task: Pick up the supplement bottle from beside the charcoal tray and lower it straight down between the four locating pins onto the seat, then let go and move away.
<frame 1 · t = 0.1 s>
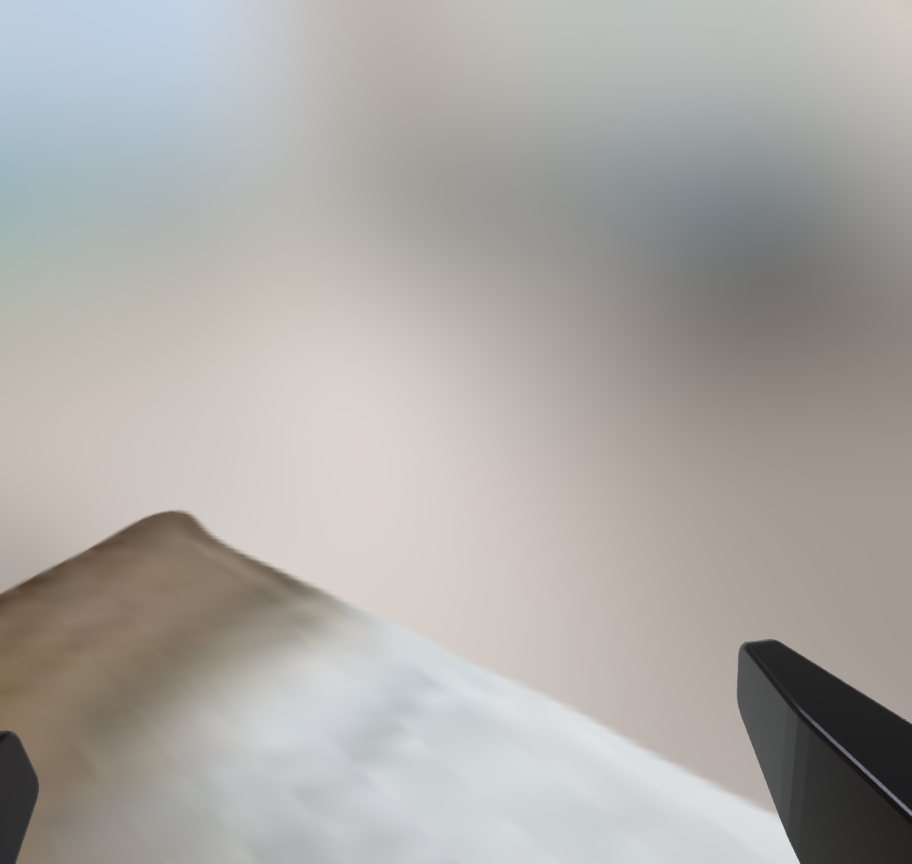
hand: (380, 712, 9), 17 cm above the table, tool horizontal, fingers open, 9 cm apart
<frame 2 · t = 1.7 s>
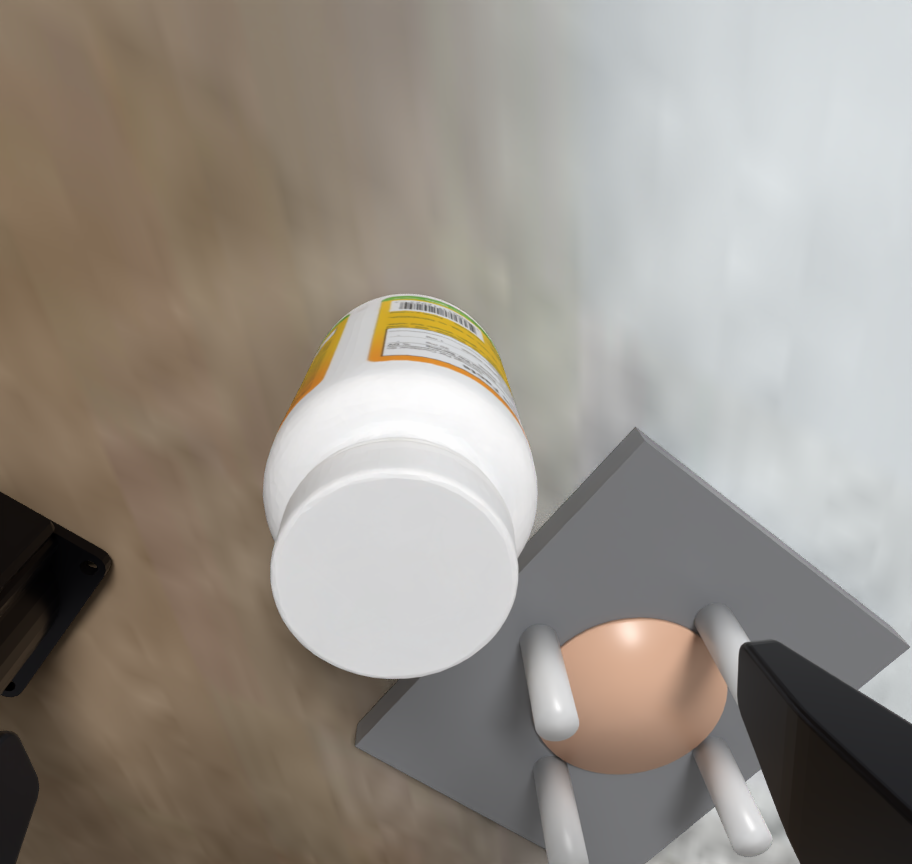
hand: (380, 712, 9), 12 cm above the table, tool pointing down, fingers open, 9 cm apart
pin tray: (620, 676, 25), on the table
supplement bottle: (409, 382, 21), on the table
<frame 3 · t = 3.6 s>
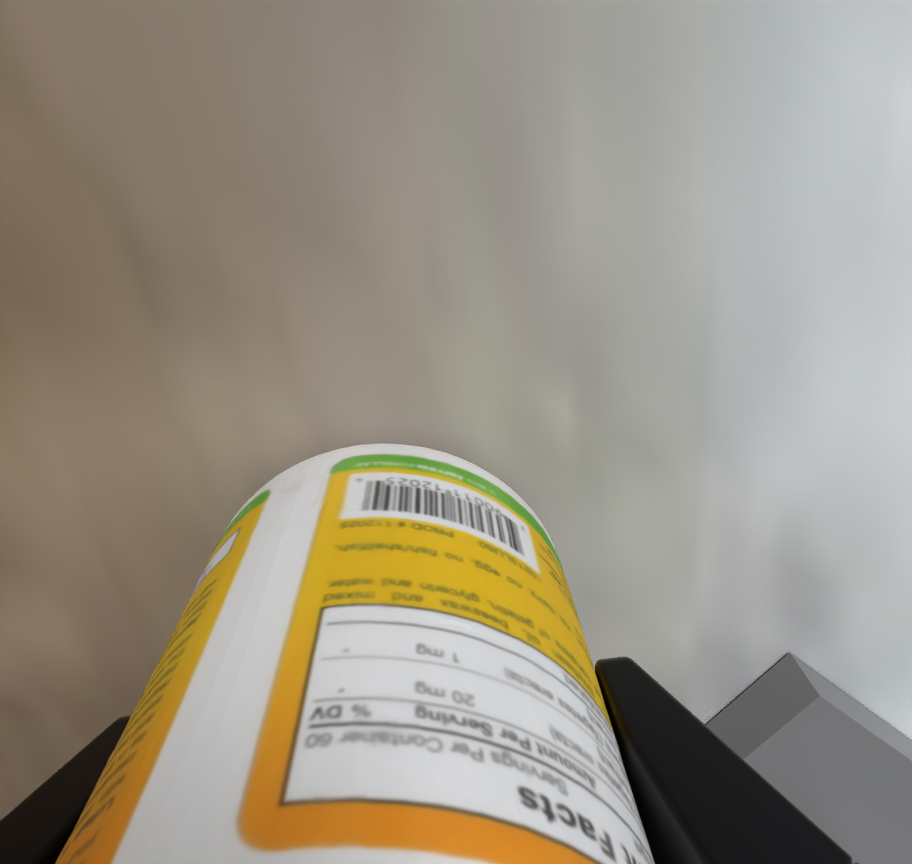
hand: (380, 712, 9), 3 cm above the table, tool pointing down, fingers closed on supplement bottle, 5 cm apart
supplement bottle: (390, 585, 11), on the table, touching gripper
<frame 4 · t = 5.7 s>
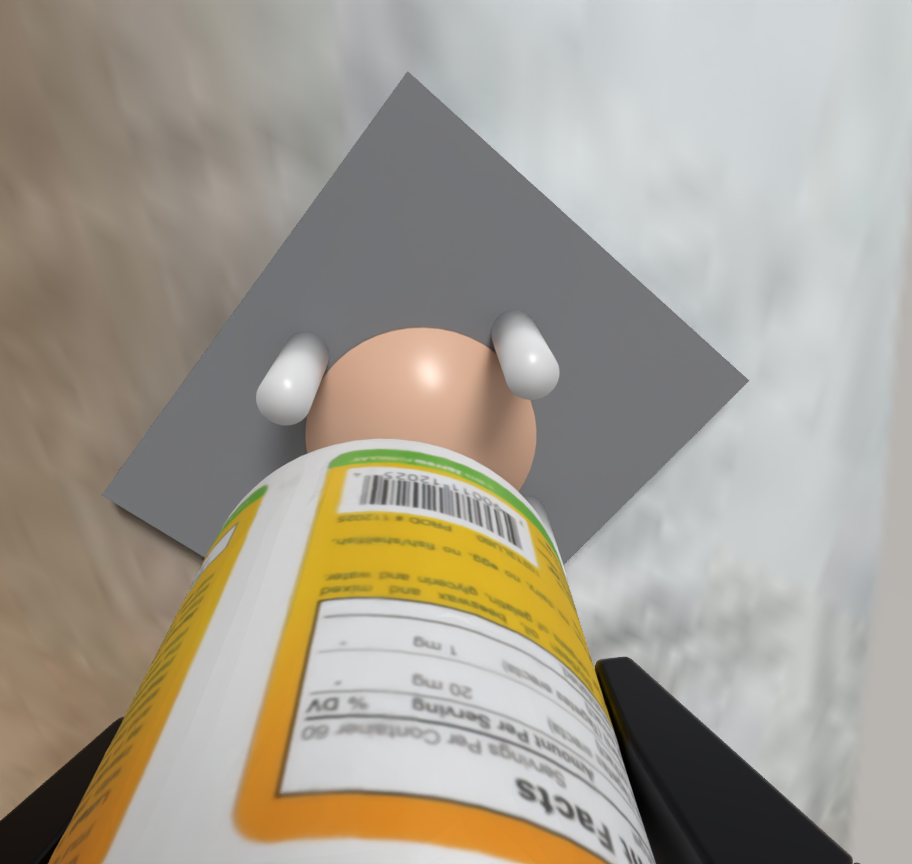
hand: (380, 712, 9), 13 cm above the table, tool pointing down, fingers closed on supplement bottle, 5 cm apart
pin tray: (421, 425, 21), on the table
supplement bottle: (389, 581, 11), point 10 cm above the table, touching gripper
when the fingers open (5 cm above the table, at t = 7.7 s): supplement bottle stays where it is, resting on pin tray.
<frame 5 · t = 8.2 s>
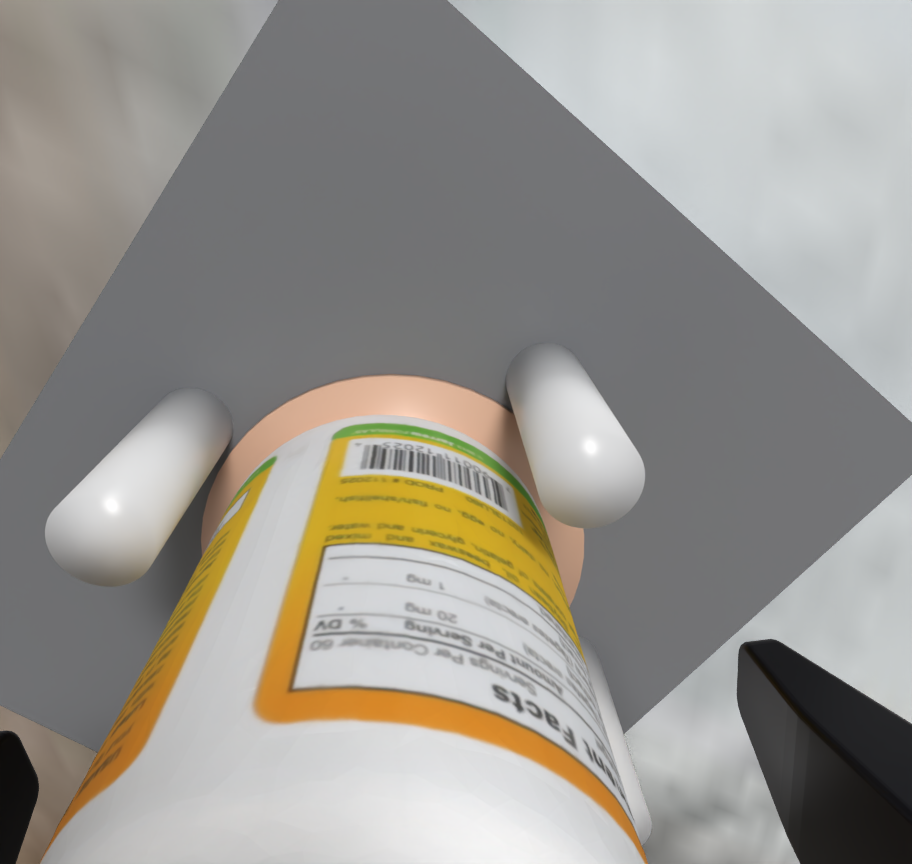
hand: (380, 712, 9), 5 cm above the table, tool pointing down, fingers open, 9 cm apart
pin tray: (397, 523, 13), on the table
supplement bottle: (388, 549, 12), point 1 cm above the table, touching pin tray
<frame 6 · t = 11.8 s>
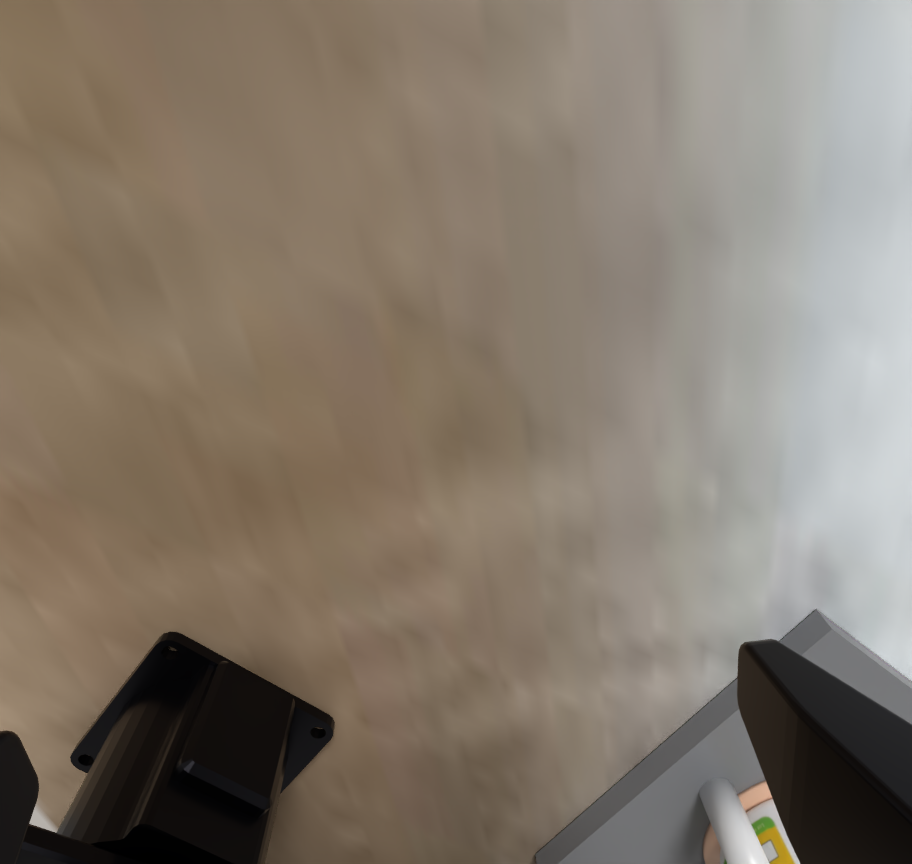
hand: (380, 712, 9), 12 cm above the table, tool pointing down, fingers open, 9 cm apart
pin tray: (778, 813, 27), on the table
supplement bottle: (788, 836, 26), point 1 cm above the table, touching pin tray
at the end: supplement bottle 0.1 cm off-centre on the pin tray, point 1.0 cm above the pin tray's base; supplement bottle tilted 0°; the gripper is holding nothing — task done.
